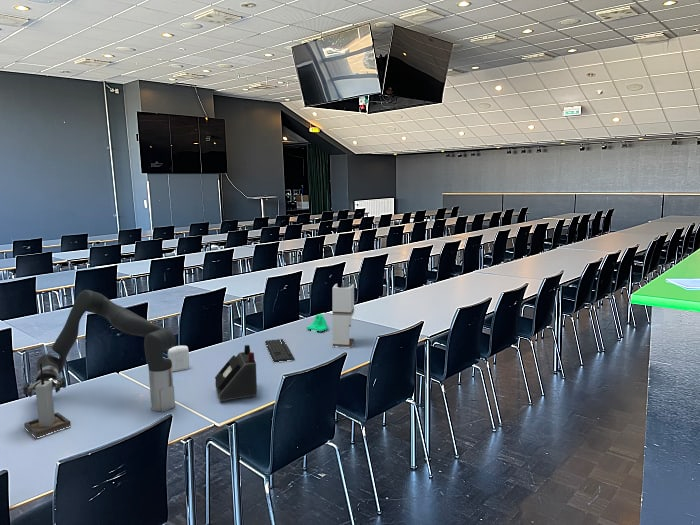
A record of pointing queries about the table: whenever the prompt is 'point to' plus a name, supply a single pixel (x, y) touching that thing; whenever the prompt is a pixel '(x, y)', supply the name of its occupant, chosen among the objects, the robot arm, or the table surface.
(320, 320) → the green draped cloth
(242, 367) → the voltmeter
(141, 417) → the table surface
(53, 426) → the brown square tray
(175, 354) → the photo printer
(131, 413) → the table surface
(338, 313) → the tall grey pillar
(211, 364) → the table surface
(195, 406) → the table surface
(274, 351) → the keyboard
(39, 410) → the vintage mobile phone
